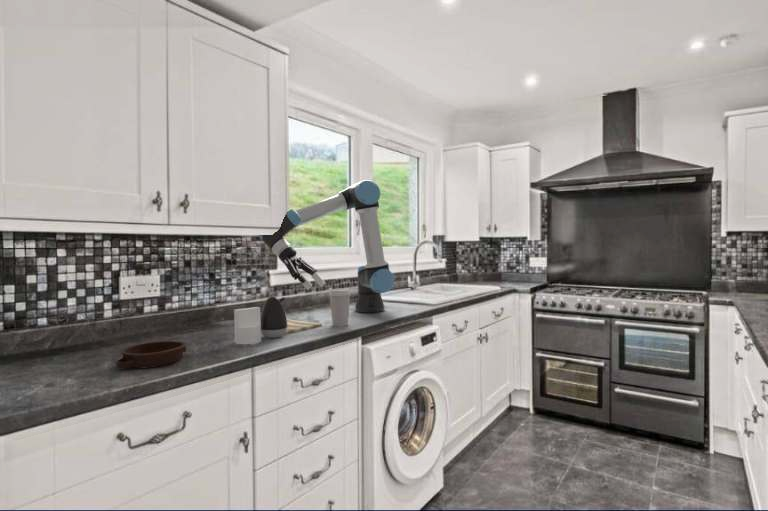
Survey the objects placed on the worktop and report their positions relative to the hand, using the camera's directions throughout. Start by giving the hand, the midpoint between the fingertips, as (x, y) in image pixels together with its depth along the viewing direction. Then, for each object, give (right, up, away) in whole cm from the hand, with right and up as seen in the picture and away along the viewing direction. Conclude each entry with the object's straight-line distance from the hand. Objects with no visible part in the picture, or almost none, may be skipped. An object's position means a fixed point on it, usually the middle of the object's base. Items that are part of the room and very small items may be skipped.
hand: (316, 286), depth 196 cm
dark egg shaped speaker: (-12, -17, -25) cm, 33 cm away
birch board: (-11, -17, -7) cm, 21 cm away
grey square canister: (-20, -18, -34) cm, 43 cm away
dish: (-39, -19, -60) cm, 74 cm away
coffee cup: (+10, -16, -2) cm, 20 cm away
